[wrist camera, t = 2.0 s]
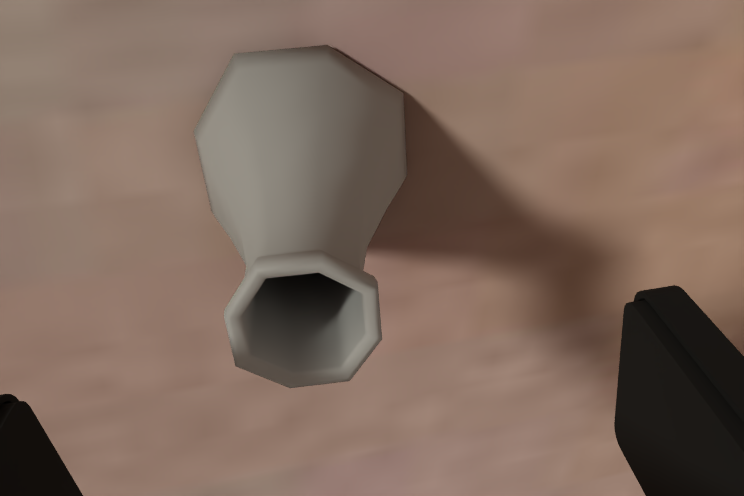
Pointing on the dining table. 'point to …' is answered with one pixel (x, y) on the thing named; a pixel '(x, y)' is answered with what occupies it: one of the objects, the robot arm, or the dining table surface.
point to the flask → (302, 206)
